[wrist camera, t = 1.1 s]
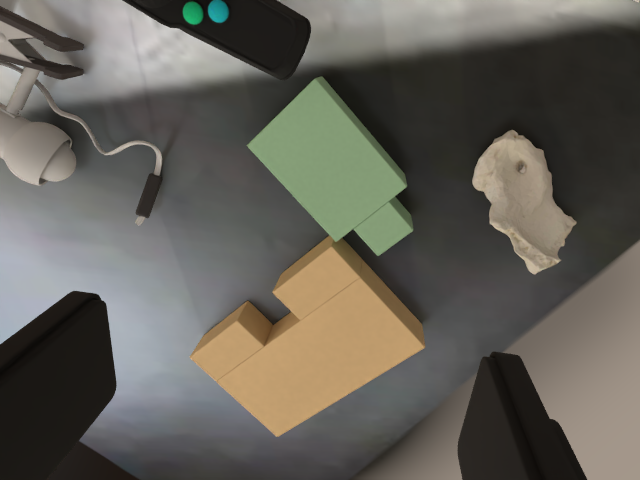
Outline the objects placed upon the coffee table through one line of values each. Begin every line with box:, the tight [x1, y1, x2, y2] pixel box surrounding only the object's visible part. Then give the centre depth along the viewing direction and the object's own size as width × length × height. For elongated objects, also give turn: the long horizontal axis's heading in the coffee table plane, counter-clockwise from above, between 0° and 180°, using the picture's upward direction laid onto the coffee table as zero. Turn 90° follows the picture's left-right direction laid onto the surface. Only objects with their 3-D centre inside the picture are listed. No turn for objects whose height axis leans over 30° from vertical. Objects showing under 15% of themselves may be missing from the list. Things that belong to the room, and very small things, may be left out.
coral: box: [472, 130, 577, 275], centre depth 32 cm, size 6×10×4 cm, turn 37°
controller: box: [123, 0, 311, 80], centre depth 27 cm, size 4×12×10 cm, turn 64°
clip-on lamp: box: [0, 6, 162, 226], centre depth 34 cm, size 12×6×18 cm
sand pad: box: [190, 235, 425, 437], centre depth 40 cm, size 18×12×4 cm, turn 132°
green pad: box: [247, 77, 413, 256], centre depth 34 cm, size 7×13×4 cm, turn 43°
